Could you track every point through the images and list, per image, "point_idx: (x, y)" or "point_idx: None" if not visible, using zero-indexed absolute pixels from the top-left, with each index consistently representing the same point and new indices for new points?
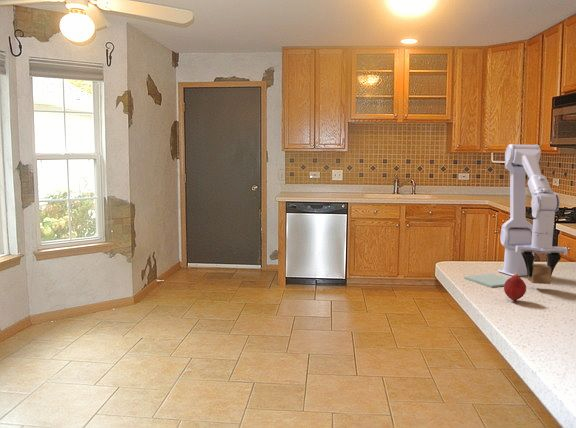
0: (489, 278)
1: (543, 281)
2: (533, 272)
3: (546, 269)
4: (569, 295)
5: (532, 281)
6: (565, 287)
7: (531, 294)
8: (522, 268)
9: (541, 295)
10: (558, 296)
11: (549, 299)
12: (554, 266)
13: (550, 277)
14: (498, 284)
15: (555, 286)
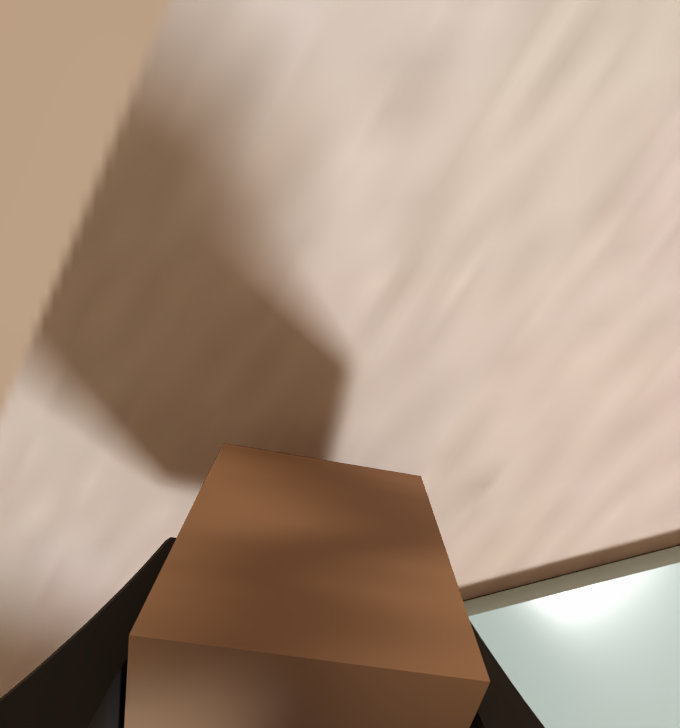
0: (579, 724)
1: (300, 472)
2: (456, 588)
3: (240, 613)
4: (84, 269)
5: (422, 498)
6: (11, 535)
7: (490, 314)
8: None
9: (404, 274)
10: (231, 231)
11: (409, 102)
12: (26, 688)
13: (199, 494)
14: (638, 578)
15: (94, 563)
